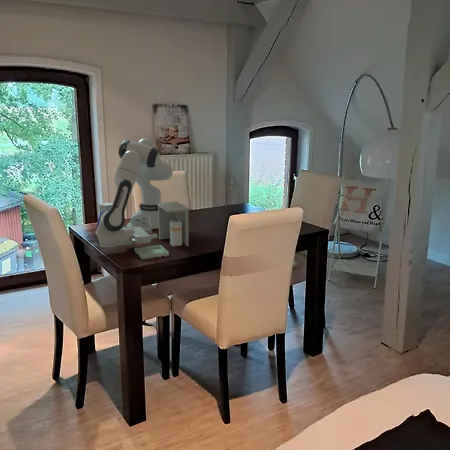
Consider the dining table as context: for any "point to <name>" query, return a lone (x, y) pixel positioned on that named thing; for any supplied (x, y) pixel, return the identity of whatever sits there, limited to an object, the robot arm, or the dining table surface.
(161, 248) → the tray
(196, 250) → the dining table surface
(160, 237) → the bay
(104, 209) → the skincare box
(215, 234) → the dining table surface
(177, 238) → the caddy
